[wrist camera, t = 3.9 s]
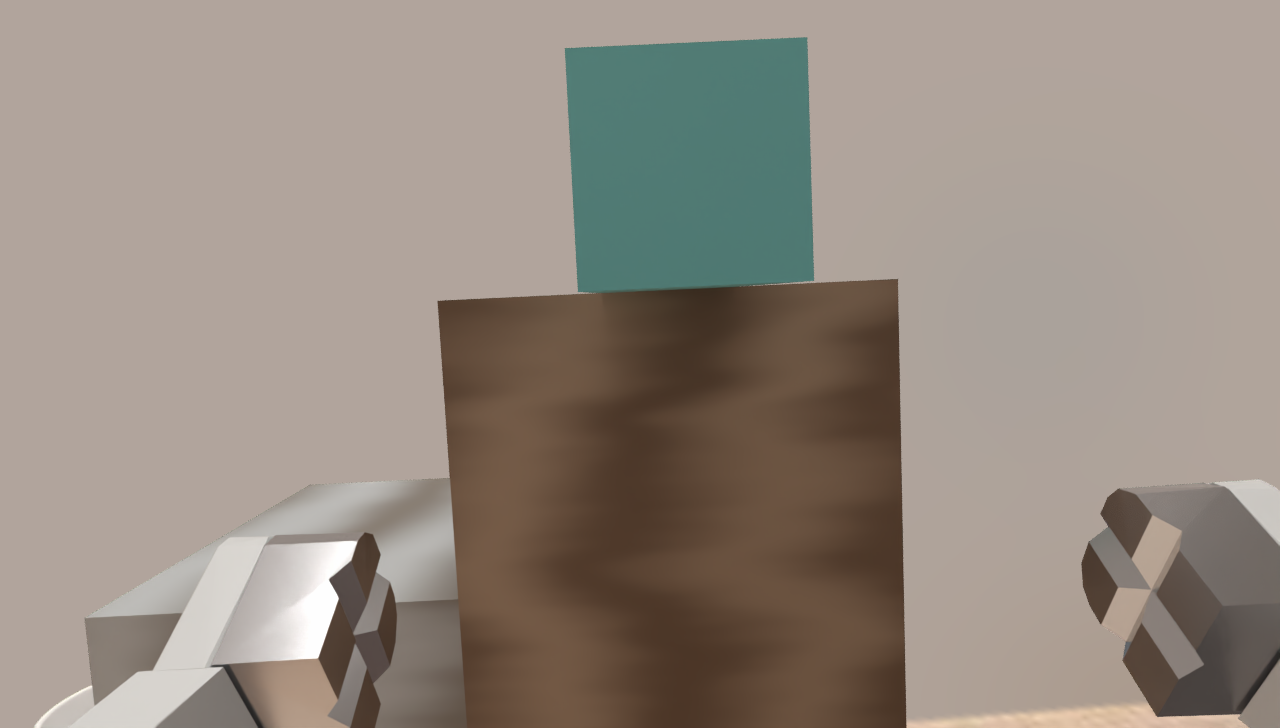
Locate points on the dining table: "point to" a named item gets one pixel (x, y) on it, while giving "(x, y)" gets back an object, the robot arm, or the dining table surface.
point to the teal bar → (690, 164)
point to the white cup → (68, 710)
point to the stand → (628, 519)
